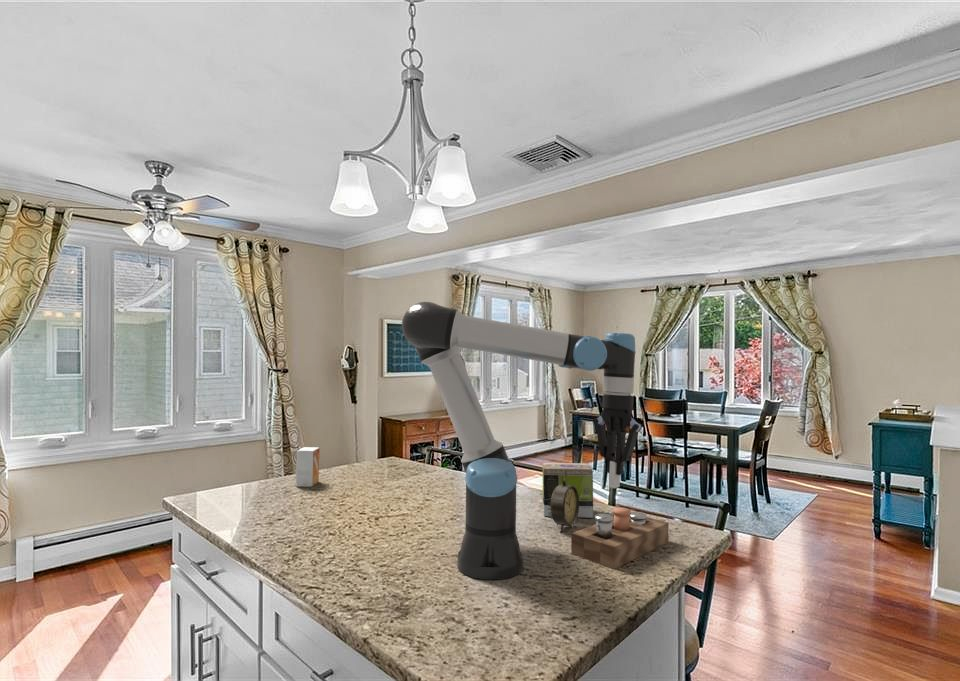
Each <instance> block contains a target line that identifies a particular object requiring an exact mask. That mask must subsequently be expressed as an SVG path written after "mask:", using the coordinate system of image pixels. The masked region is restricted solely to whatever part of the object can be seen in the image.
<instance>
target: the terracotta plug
mask: <svg viewBox="0 0 960 681" xmlns="http://www.w3.org/2000/svg"><path fill="white" fill-rule="evenodd" d="M631 511H632V510H631V509H629V508H626V507H613V508H612V514H613V518H614V529H615V530H619V531H622V532H627V531H629V515H630V514H631Z"/></svg>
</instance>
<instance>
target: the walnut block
mask: <svg viewBox="0 0 960 681" xmlns="http://www.w3.org/2000/svg"><path fill="white" fill-rule="evenodd" d="M570 534H571V540H570V543H571V546H570V549H571V551H570V552H571V553H570V554H571V555H573V556H576V557H579V558H582V559H585V560H588V561H589V562H593V563H596V564H598V565H600V566H601V565H602V566H603V567H604V566H605V567H607V568H610V569H613V570H616V569H618V568H619V567H621V566H623V565H625V564H628V563H629V562H631V561H634V560H636V559H637V558H640V557H641V556H643V555H645V554H648V553H649V552H652V551H653V550H655V549H657V548H659V547H661V546H663V545H665V544H667V543H669V522H667V521H664V520H660V519H655V518H652V517H649V516H647V519H646V520H645V524H643V525H639V524H635V523H631V522H630V517H629V531H627V532H622V531H619V530H615V529H614V517H613V522H612V538H610V539H608V540H606V539H603V538H599V537H596V523H595V524H593V525H589V526H587V527H584V528H582V529H579V530H577V531H576V530H575V531H574V532H571V533H570Z"/></svg>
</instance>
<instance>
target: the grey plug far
mask: <svg viewBox="0 0 960 681" xmlns="http://www.w3.org/2000/svg"><path fill="white" fill-rule="evenodd" d="M629 517H630V522H631V523H635V524H639V525H643V524H645V520H646V519H647V517H648V515H647V514H646V513H643V512H640V511H639V512H638V511H632V512H631V514H630V515H629Z"/></svg>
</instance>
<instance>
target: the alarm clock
mask: <svg viewBox="0 0 960 681" xmlns="http://www.w3.org/2000/svg"><path fill="white" fill-rule="evenodd" d="M564 471H565V470H564ZM564 471H563V473H564ZM563 473H562V482H563V485H558V486H557V487H556V488H555V489H554V491H553V494H552V497H551V505H550V508H551V515H552V516H551V519H552V520H553V522H554V523H555V524H556V526H560V532H559V533H560V534H562V533H563V530H564V527H565V526H566V527H572V526H574V524H576V522H577V519H578V517H577V516H578V512H579V497H578V492H577V490H576V488H575V487H574V486H569V485H566V483H565V482H566V481H565V480H566V476H567V474H566V471H565V474H566V476H565V480H563Z"/></svg>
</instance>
